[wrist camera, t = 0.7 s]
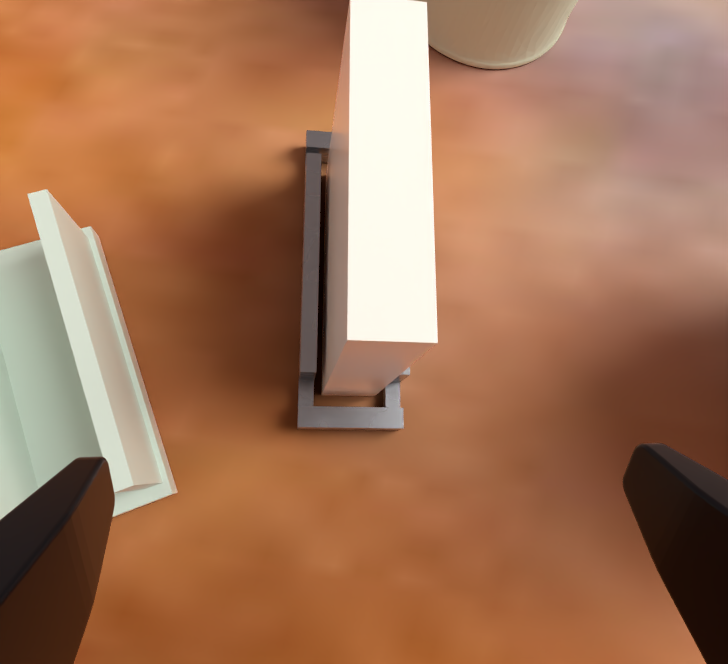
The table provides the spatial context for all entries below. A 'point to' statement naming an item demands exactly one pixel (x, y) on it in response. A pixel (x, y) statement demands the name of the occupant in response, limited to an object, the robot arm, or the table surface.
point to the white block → (379, 203)
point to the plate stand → (307, 413)
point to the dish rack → (70, 369)
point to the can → (495, 29)
